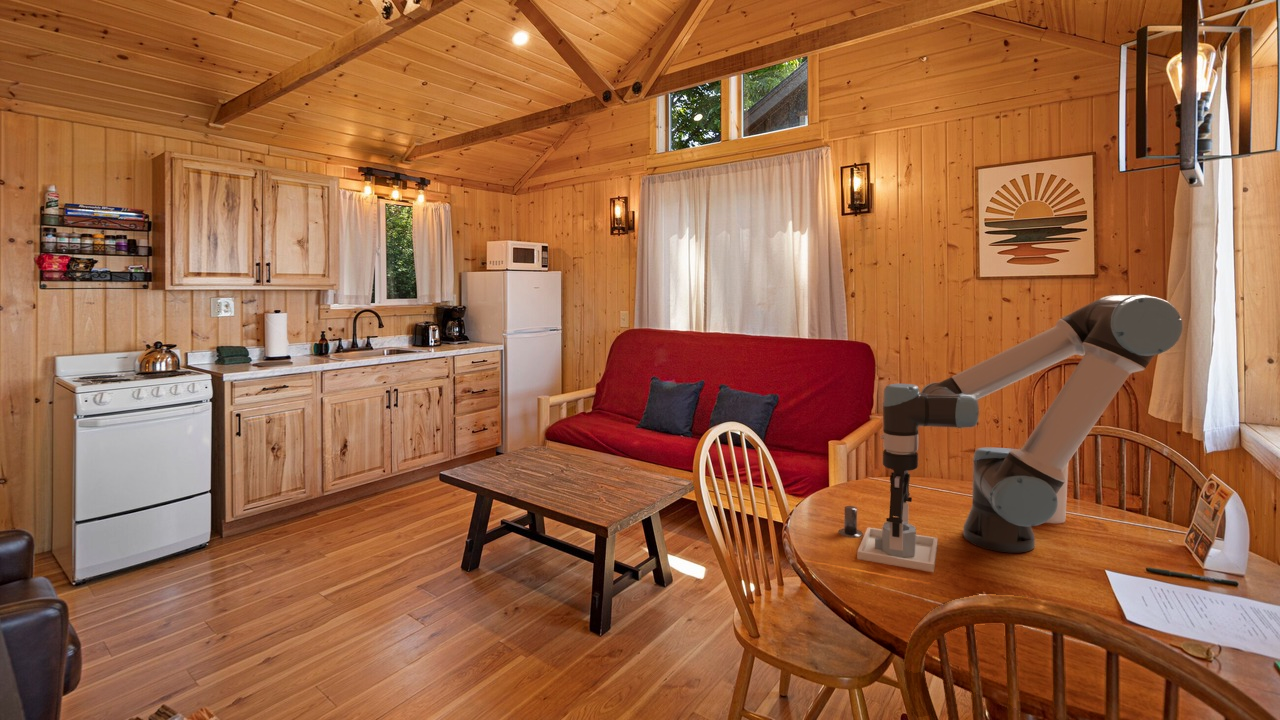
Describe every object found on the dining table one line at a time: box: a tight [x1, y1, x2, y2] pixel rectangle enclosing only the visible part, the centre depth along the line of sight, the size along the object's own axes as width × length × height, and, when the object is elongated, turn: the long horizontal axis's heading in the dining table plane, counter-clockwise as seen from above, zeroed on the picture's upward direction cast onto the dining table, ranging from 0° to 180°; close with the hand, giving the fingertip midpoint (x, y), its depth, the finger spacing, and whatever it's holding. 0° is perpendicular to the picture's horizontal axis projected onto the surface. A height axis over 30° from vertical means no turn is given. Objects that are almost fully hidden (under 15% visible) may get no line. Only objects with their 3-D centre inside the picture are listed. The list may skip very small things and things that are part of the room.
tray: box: [856, 526, 938, 574], centre depth 143 cm, size 16×16×2 cm
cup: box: [1045, 462, 1069, 524], centre depth 162 cm, size 8×8×16 cm
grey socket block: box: [875, 521, 917, 558], centre depth 144 cm, size 9×7×6 cm
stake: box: [838, 505, 864, 539], centre depth 155 cm, size 6×6×7 cm
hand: (899, 538), depth 143 cm, fingers open, 13 cm apart
